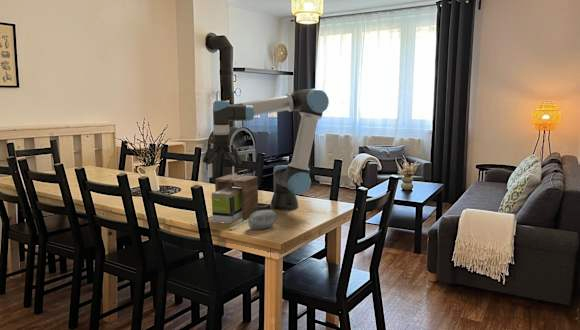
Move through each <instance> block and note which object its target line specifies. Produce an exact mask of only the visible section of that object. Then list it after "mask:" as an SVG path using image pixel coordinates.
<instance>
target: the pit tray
mask: <svg viewBox="0 0 580 330" xmlns="http://www.w3.org/2000/svg"><path fill="white" fill-rule="evenodd" d="M271 209H272V208H271V203H263V202H262V203H261V202H258V211H260V210H271Z"/></svg>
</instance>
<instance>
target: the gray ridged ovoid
mask: <svg viewBox="0 0 580 330" xmlns="http://www.w3.org/2000/svg"><path fill="white" fill-rule="evenodd" d="M248 220H249V221H248V222H247V223H248V227H249V228H250V229H251V230H253V231H258V230H264V229H267V228H270V227H272V226H274V225H275V223H276V221H277V214H276V213H275V211H274V210H273V209H272V210H260V211H256V212H254V213H252V214H251V215H250V217H249V218H248Z"/></svg>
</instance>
